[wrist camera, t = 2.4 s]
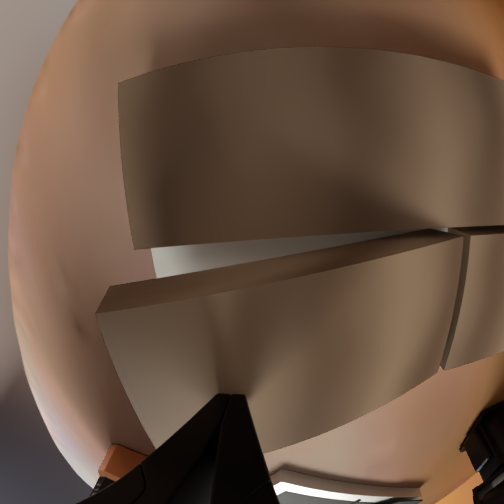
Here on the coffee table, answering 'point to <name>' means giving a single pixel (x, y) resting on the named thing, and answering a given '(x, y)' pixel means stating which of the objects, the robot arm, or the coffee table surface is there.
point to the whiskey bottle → (116, 466)
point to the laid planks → (324, 160)
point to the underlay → (250, 251)
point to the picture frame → (336, 491)
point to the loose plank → (286, 334)
